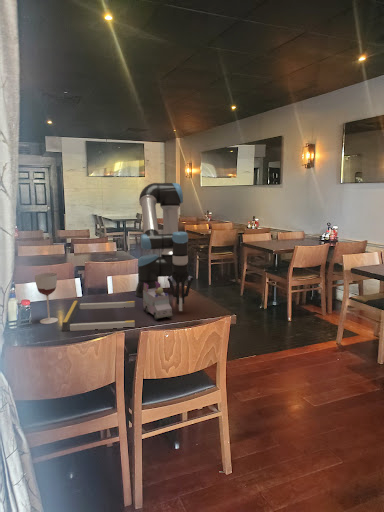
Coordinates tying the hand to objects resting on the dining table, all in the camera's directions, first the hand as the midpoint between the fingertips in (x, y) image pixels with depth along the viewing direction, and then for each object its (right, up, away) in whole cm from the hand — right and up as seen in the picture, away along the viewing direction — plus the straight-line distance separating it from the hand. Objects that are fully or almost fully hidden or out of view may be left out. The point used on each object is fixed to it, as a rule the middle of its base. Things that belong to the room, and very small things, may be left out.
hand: (180, 310), depth 188 cm
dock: (-38, -3, -5) cm, 38 cm away
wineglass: (-62, -4, -10) cm, 63 cm away
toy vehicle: (-11, -2, -1) cm, 12 cm away
